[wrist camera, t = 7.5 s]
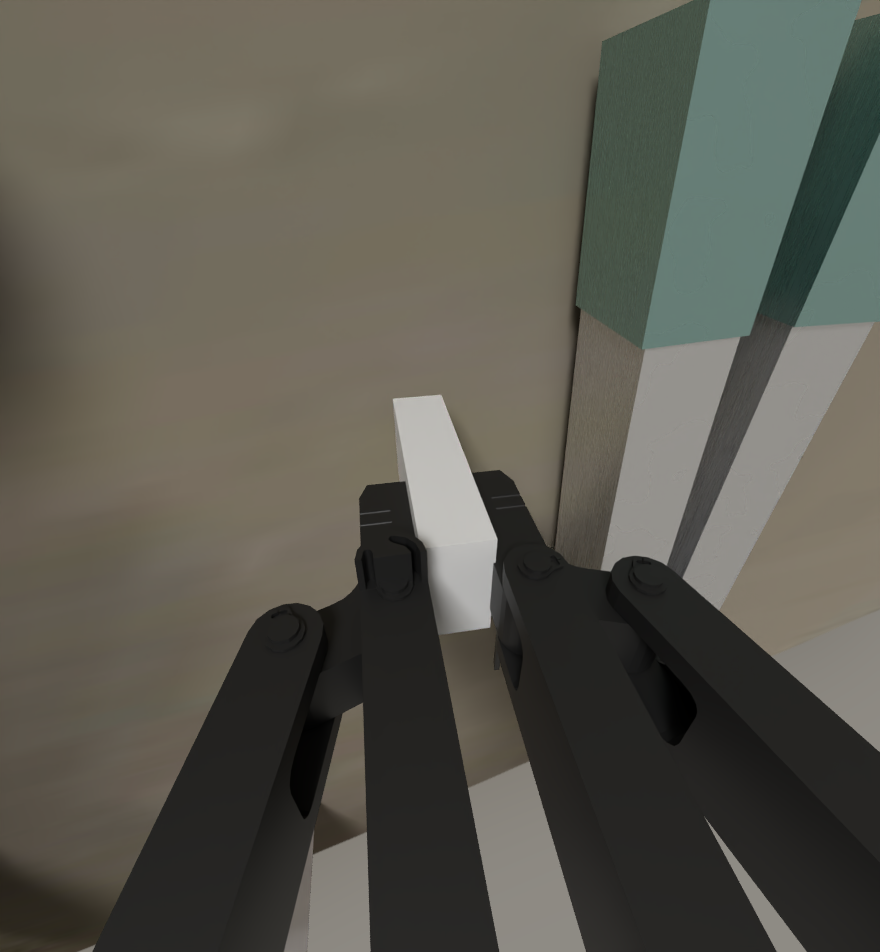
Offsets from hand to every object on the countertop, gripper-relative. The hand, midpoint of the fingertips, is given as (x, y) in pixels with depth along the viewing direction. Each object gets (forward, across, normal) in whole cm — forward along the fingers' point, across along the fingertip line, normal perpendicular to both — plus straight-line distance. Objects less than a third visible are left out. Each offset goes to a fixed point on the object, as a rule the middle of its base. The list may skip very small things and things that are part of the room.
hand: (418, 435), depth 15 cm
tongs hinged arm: (+1, +7, -2) cm, 7 cm away
